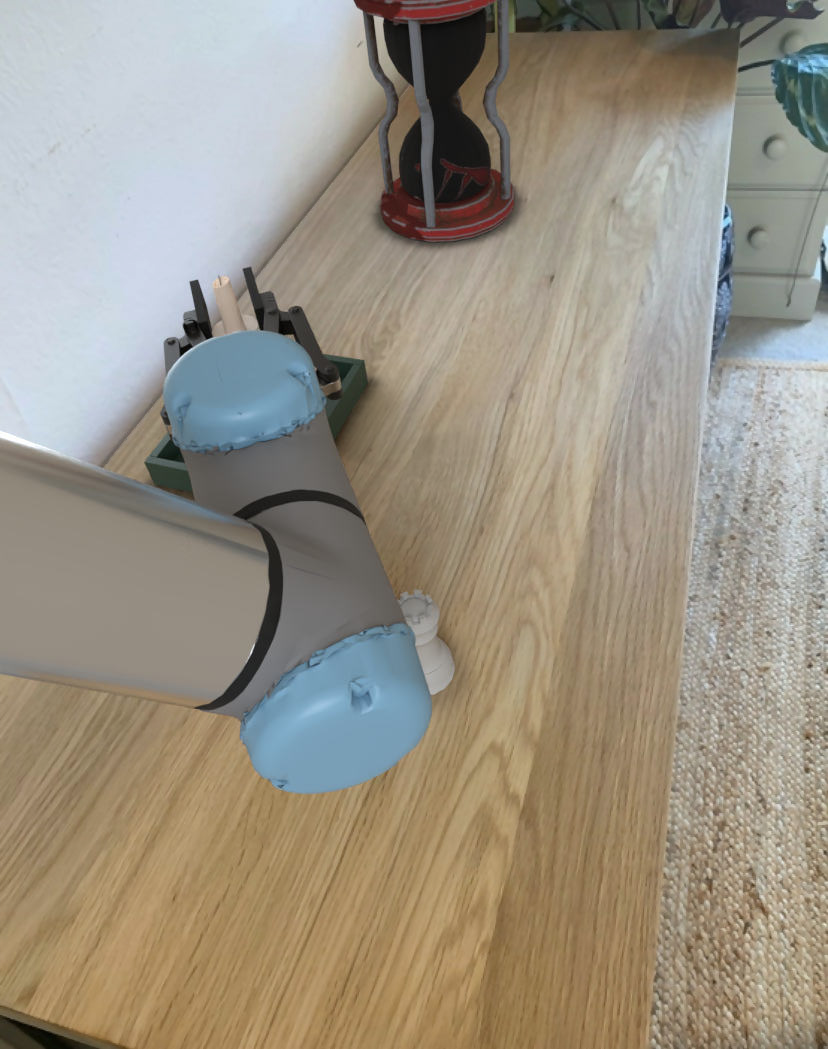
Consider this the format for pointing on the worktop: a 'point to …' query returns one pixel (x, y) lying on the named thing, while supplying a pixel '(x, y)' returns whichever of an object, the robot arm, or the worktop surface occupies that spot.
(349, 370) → the tray
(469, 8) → the hourglass
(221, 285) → the candle
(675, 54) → the worktop surface
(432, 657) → the rook chess piece
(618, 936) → the worktop surface
